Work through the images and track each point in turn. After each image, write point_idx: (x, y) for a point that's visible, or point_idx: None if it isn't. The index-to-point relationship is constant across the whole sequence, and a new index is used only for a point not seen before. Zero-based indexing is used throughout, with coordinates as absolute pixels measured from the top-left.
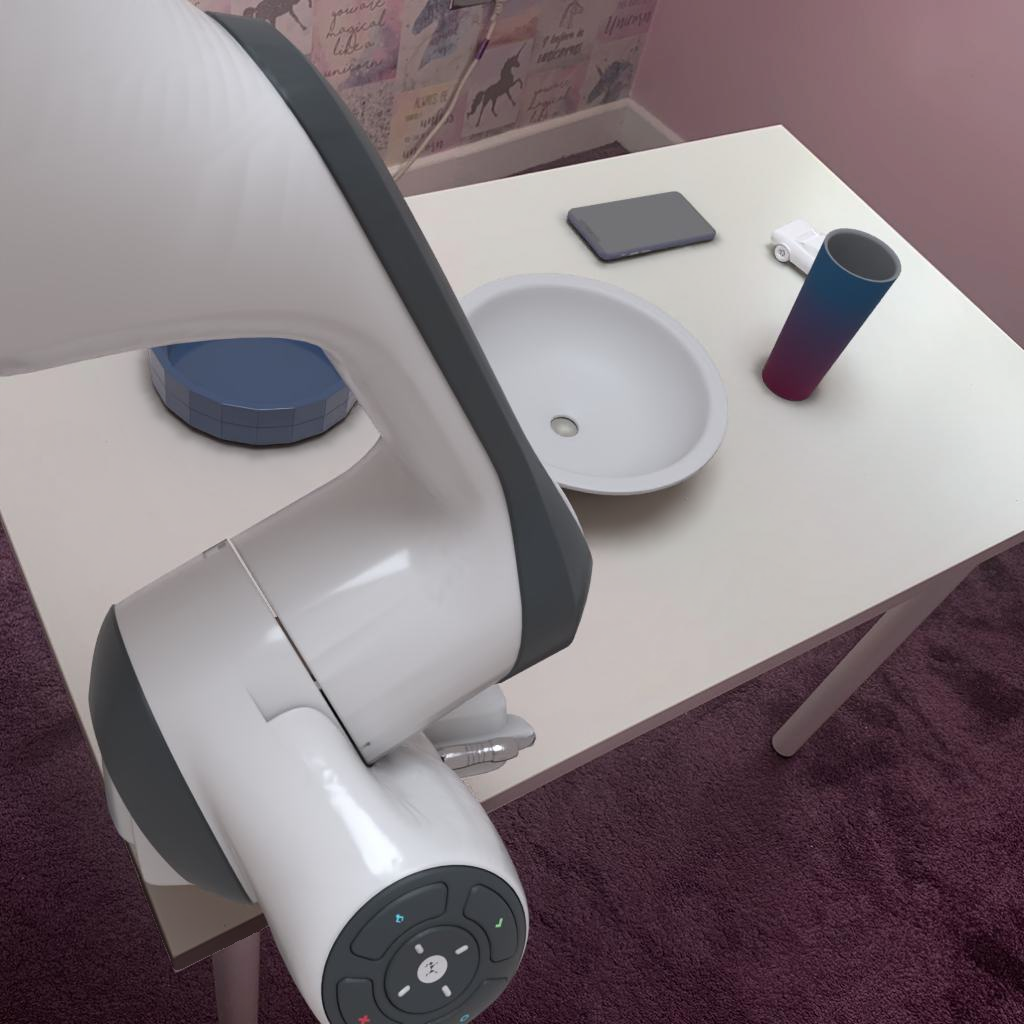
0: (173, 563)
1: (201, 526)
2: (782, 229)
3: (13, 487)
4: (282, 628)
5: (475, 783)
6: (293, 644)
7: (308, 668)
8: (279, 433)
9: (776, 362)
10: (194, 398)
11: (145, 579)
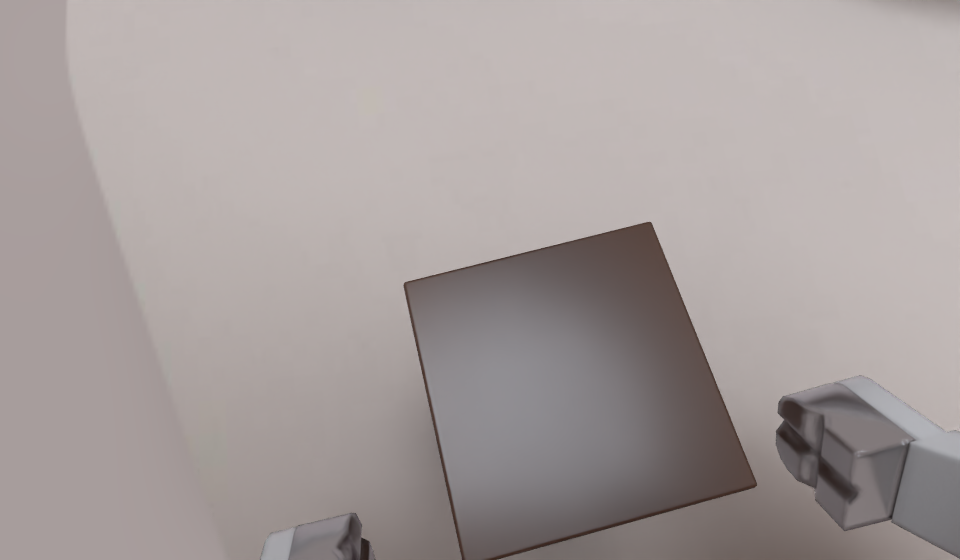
0: (315, 127)
1: (355, 60)
2: None
3: (73, 36)
4: (535, 302)
5: None
6: (587, 367)
7: (667, 476)
8: None
9: None
10: None
11: (272, 160)
